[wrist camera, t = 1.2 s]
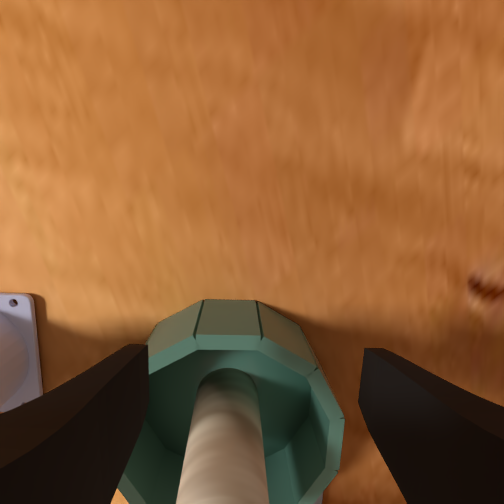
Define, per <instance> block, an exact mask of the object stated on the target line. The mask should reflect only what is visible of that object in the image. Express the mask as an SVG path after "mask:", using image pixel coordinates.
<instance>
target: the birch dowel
mask: <svg viewBox="0 0 504 504" xmlns="http://www.w3.org/2000/svg"><path fill="white" fill-rule="evenodd" d="M176 504H269V497H268V487H267V477H266V468H265V458H264V448H263V438H262V429H261V419H260V409H259V400H258V391H257V387H256V384H255V382H254V381H253V379H252V378H251V377H250V376H249V375H248V374H246V373H245V372H243V371H241V370H238V369H234V368H221V369H217V370H214V371H212V372H210V373H209V374H207V375H206V376H205V377H204V378H203V379H202V381H201V382H200V384H199V386H198V389H197V393H196V399H195V404H194V409H193V415H192V420H191V425H190V431H189V436H188V442H187V447H186V452H185V458H184V463H183V468H182V474H181V479H180V485H179V490H178V495H177V501H176Z"/></svg>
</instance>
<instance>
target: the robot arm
mask: <svg viewBox="0 0 504 504" xmlns="http://www.w3.org/2000/svg"><path fill="white" fill-rule="evenodd" d="M13 299H15V300H17V302H18V305H17V304H15V303H14V302H13ZM149 401H150V400H149V357H148V345H139V344H129V345H127V346H125V347H123V348H122V349H120V350H118V351H117V352H115V353H113V354H112V355H110V356H109V357H107V358H106V359H104V360H102V361H101V362H99V363H98V364H96V365H94V366H93V367H91V368H90V369H88V370H87V371H85V372H83V373H81V374H80V375H78V376H76V377H74V378H73V379H71V380H69V381H67V382H66V383H64V384H62V385H60V386H59V387H57V388H55V389H53V390H51V391H49V392H48V393H46V394H44V395H43V389H42V378H41V368H40V358H39V348H38V337H37V327H36V317H35V307H34V300H33V298H32V296H30V295H29V294H25V293H0V412H4V413H1V414H0V504H110V503H111V501H112V498H113V496H114V494H115V491H116V489H117V487H118V484H119V482H120V480H121V477H122V475H123V473H124V470H125V468H126V465H127V463H128V461H129V458H130V456H131V454H132V451H133V449H134V447H135V444H136V442H137V439H138V437H139V434H140V432H141V429H142V426H143V423H144V419H145V416H146V412H147V408H148V404H149ZM25 402H26V403H25ZM358 403H359V406H360V409H361V412H362V414H363V417H364V420H365V422H366V425H367V428H368V430H369V432H370V434H371V436H372V438H373V440H374V442H375V444H376V446H377V448H378V449H379V451H380V453H381V455H382V457H383V459H384V461H385V463H386V464H387V466H388V468H389V470H390V472H391V474H392V476H393V477H394V479H395V481H396V483H397V485H398V487H399V489H400V491H401V492H402V494H403V496H404V498H405V500H406V502H407V504H504V407H502V406H500V405H497V404H495V403H493V402H490V401H488V400H485V399H483V398H481V397H479V396H476V395H474V394H472V393H470V392H468V391H466V390H464V389H462V388H460V387H458V386H456V385H453V384H451V383H450V382H448V381H446V380H444V379H442V378H440V377H438V376H436V375H434V374H432V373H430V372H428V371H427V370H425V369H423V368H421V367H419V366H417V365H415V364H414V363H412V362H410V361H408V360H406V359H404V358H402V357H400V356H398V355H396V354H394V353H392V352H390V351H388V350H385V349H383V348H365V349H364V357H363V365H362V374H361V382H360V390H359V399H358Z"/></svg>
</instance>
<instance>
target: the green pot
mask: <svg viewBox="0 0 504 504" xmlns="http://www.w3.org/2000/svg"><path fill="white" fill-rule="evenodd" d="M144 345H148V357H149V400H150V401H149V404H148V408H147V412H146V416H145V419H144V423H143V426H142V429H141V432H140V434H139V437H138V439H137V442H136V444H135V447H134V449H133V451H132V454H131V456H130V458H129V461H128V463H127V465H126V468H125V470H124V473H123V475H122V477H121V480H120V482H119V484H118V487H117V488H118V489H119V491H120V492H121V493H122V495H123V496H124V497H125V499H126V500H127V501H128V502H129V504H176V501H177V495H178V490H179V485H180V479H181V474H182V468H183V463H184V458H185V452H186V447H187V442H188V436H189V431H190V425H191V420H192V415H193V409H194V404H195V399H196V393H197V389H198V386H199V384H200V382H201V381H202V379H203V378H204V377H205V376H206V375H207V374H209V373H210V372H212V371H214V370H217V369H221V368H234V369H238V370H241V371H243V372H245V373H246V374H248V375H249V376H250V377H251V378H252V379H253V381H254V382H255V384H256V387H257V391H258V400H259V409H260V419H261V429H262V438H263V448H264V458H265V468H266V477H267V487H268V497H269V504H314V503H315V501H316V500H317V499H318V498H319V496H320V495H321V494H322V492H323V491H324V490H325V489H326V487H327V486H328V485H329V483H330V482H331V481H332V480H333V478H334V477H335V476H336V475H337V473H338V471H337V470H339V467H340V458H341V449H342V440H343V432H344V423H345V418H344V414H343V412H342V410H341V408H340V406H339V404H338V401H337V399H336V397H335V395H334V393H333V391H332V388H331V386H330V384H329V382H328V380H327V377H326V375H325V373H324V371H323V369H322V367H321V365H320V363H319V361H318V359H317V357H316V355H315V353H314V351H313V350H312V348H311V346H310V344H309V342H308V340H307V338H306V336H305V334H304V333H303V331H302V329H301V327H299V325H298V324H296V323H294V322H293V321H291V320H289V319H287V318H286V317H284V316H282V315H281V314H279V313H277V312H275V311H274V310H272V309H270V308H269V307H267V306H265V305H264V304H262V303H260V302H258V301H257V303H256V302H255V300H216V299H205V301H204V302H203V300H201V301H199V302H197V303H195V304H193V305H191V306H190V307H188V308H186V309H184V310H182V311H180V312H178V313H176V314H174V315H172V316H170V317H168V318H166V319H164V320H163V321H161V322H159V323H158V325H156V326H155V328H154V329H153V331H152V333H151V334H150V336H149V338H148V339H147V341H146V342H145V344H144Z"/></svg>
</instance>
